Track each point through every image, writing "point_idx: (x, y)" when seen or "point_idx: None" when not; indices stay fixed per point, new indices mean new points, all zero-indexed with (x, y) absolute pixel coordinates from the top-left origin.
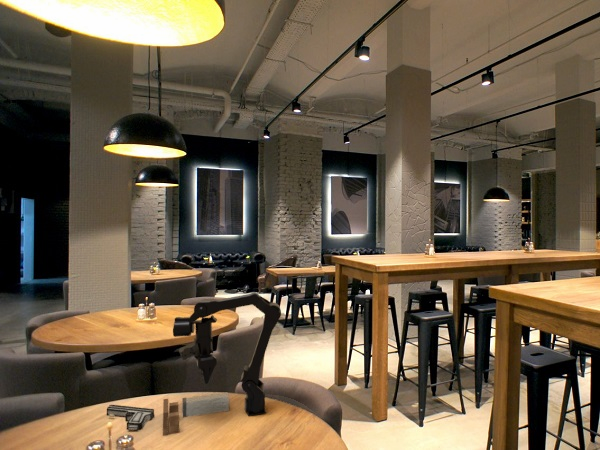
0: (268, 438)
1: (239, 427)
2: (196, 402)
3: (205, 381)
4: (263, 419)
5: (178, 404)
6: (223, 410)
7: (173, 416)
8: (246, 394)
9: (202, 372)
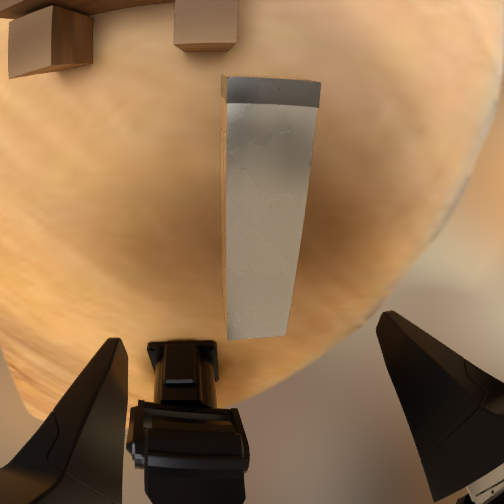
0: (22, 352)
1: (70, 308)
2: (225, 172)
3: (99, 362)
4: None
5: (180, 43)
6: (222, 275)
7: (9, 45)
8: (191, 397)
9: (25, 445)
